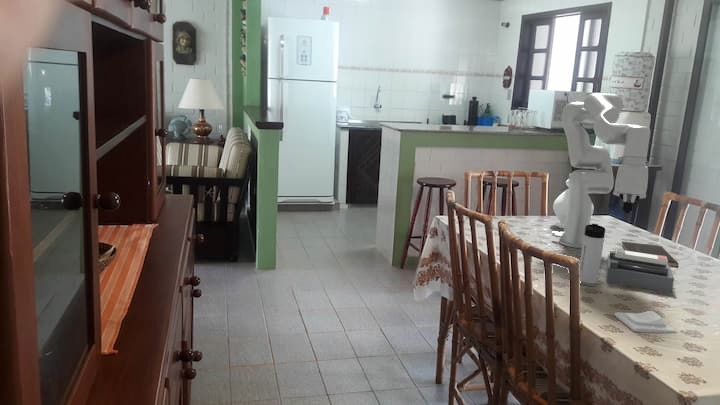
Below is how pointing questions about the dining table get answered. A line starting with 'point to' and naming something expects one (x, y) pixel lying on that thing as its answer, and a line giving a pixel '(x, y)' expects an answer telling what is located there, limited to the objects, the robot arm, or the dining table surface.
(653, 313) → the light switch
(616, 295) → the dining table surface
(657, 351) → the dining table surface
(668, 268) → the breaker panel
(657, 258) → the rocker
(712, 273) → the dining table surface
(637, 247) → the hardcover book
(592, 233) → the travel mug
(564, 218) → the decorative vase
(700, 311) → the dining table surface
